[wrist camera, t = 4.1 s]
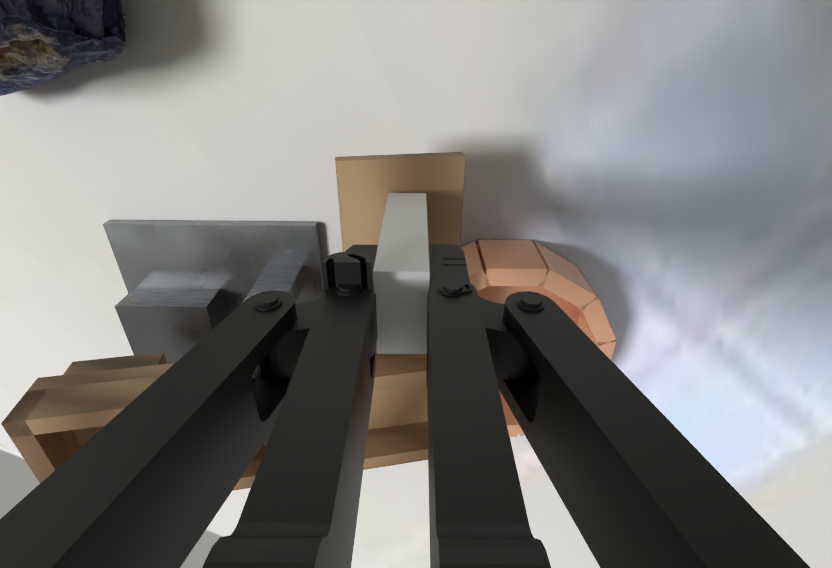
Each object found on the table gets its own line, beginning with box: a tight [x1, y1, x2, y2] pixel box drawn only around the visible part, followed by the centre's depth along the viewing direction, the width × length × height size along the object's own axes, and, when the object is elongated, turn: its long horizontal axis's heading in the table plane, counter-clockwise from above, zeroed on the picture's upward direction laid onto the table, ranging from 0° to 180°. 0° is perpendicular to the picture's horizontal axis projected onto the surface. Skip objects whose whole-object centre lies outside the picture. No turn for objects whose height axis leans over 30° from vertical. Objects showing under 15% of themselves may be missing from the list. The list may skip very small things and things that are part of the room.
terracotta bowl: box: [460, 240, 616, 437], centre depth 26 cm, size 12×12×4 cm
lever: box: [1, 152, 465, 491], centre depth 20 cm, size 18×15×4 cm
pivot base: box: [103, 220, 324, 364], centre depth 24 cm, size 12×14×8 cm
